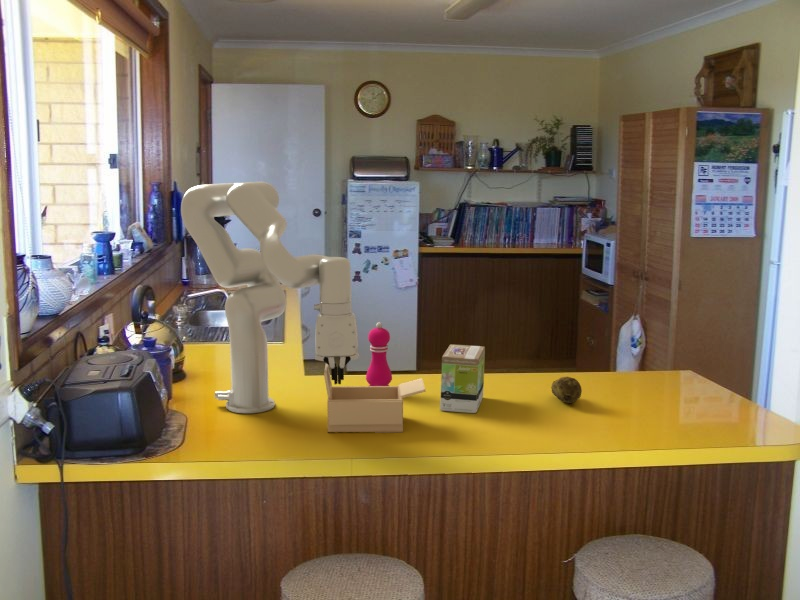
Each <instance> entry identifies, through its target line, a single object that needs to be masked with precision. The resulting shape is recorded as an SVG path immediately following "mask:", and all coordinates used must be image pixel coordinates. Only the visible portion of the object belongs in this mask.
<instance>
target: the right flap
mask: <svg viewBox="0 0 800 600" xmlns="http://www.w3.org/2000/svg"><path fill="white" fill-rule="evenodd" d="M398 386H399V387H400V393H401V398H403V399H405V398H406V397H407V398H408V397H410V396H411V397H412V396H414V395H419V394H422V393H426V388H425V383H424V379H423V377H420V378H418V379H414V380H410V381H406V382H402V383H399V384H398Z"/></svg>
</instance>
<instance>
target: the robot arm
mask: <svg viewBox="0 0 800 600" xmlns="http://www.w3.org/2000/svg"><path fill="white" fill-rule="evenodd" d="M180 203H181V204H180V215H181V219H182V222H183V225H184V226H185V229H186V231H187V232H188V233H189V235H190V236H191V238H192V239H193V240H194V242H195V244H196V246H197V247H198V249H199V251H200V253H201V255H202V258H203V259H204V261H205V263H206V266H207V267H208V269H209V271H210V273H211V274H212V276H213V278H214V280H215V282H216V283H217V284H218V286H220V287H221V288H226V289H227V288H228V289H229V288H231V289H232V288H236V287H242V286H243V287H242V288H239V289H236V290H234V291H232V292H231V293H230V294H229V295H228V296H227V298H226V300H225V303H224V312H225V313H224V314H225V316H226V317H225V318H226V322H227V325H228V332H229V333H228V335H229V345H230V346H229V349H230V352H229V353H230V381H231V388H230V390H226V391H223V390H219V391H217V390H216V391H215V392H214V398H215V399H217V400H218V401H226V403H225V408H226V409H227V410H228V411H229V412H233V413H236V414H257V413H258V414H259V413H264V412H267V411H271V410H272V409H273V408H275V405H276V404H275V399H273V398H272V397H269V361H268V359H269V356H268V338H267V334H266V332H265V330H264V328H263V325H262V323H263V322H265V321H269V320H272V319H276V318H278V317H280V316H282V315H283V313H284V312H285V311H286V308H287V297H286V293H285V291H284V289H283V287H282V285H283V286H284V287H285V288H288V289H291V290H299V289H303V288H308V287H313V286H317V285H319V302H318V303H316V304H313V310H314V311H318V312H319V313H318V314H317V315H316V319H315V320H316V321H315V331H314V332H315V334H314V335H315V336H314V337H315V340H314V345H315V347H314V348H315V354H314V355H315V356H314V359H315V361H320V362H324V363H325V364H326V363H327V364H328V366H329V369H330V377H331V381H334V383H333V384H334V385H337V384H338V385H341V384H342V381H344V379H345V375H344V369H345V367H346V365H348V364H349V362H350V361H355V360H358V359H360V354H359V351H358V350H359V341H358V337H359V336H358V326H357V320H356V315H355V313H354V312H353V311H352V277H351V273H352V272H351V270H352V269H351V268H352V267H351V262H350V260H349V259H348V258H347V257H342V256H327V255H322V254H316V253H312V254H307V255H300V256H293V255H292V254H291V253H290V252H289V251H288V250H287V248H286V247H285V246H284V245H283V242H282V241H281V240H280V238H281V237H282V236H283V234H284V233H285V231H286V228H287V226H288V225H287V223H288V222H287V220H286V218H285V217H284V216H283V215H282V213H280V212H279V211H278V209H277V208H278V207H279V203H280V196H279V193H278V191H277V189H276V188H275V187H274V186H273V185H272V184H271V183H269V182H266V181H246V182H227V183H211V184H210V183H209V184H208V183H206V184H200V185H195V186H193V187H190V188H189V189H188V190H187V191H186V192H185V193H184V195H183V197H182V199H181V202H180ZM227 216H235V217H237V218H238V220H239V221H240V222H241V223H242V224H243V225H244V227H246V228H247V229H248V231H249V232H250V233H251V234H252V235H253V236H254V237H255V239H256V240H257V242H259V250H260V251H259V250H258V249H256V248H252V247H251V248H250V247H249V248H248V247H247V248H238V247H237V246H236V245H235V244H234V242H233V240H232V238H231V236H230V234H229V232H228V231H227V230H226V229H225V228H224V227H223V225H221V224H220V223H219V222H218V221H217V220H215V217H218V218H219V217H227ZM244 286H247V287H244ZM335 357H336V358H338V357H339V363H338V365H337V363H336V361H335V360H336V359H335Z"/></svg>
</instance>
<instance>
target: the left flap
mask: <svg viewBox="0 0 800 600" xmlns="http://www.w3.org/2000/svg"><path fill="white" fill-rule="evenodd" d="M324 365H325V366H324V371H323V376H324V381H325V389H326V394H327V399H328V398H329V397H331V389H332V387H333V384H332V380H331V371H330V366H329V365H328V364H327V363H325V364H324Z"/></svg>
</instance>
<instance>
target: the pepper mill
mask: <svg viewBox="0 0 800 600" xmlns="http://www.w3.org/2000/svg"><path fill="white" fill-rule="evenodd" d="M367 340H368V342H369V343H370V344H369V345H370V346H369V348H370V349H369V350H370V352H371V360H370V364H369V366H368V369H367V372H366V374H365V375H366V376H365V380H366V382H367V383H368V386H390V385H389V384H390V383H391V382H392V381H393V375H392V371H391V369H390V366H389V364H388V359H387V351H389V345H388V344H389V342H390V340H391V334H390V331H388V330H387V329H386V328H384V327H383V323H382V322H380V321H378V322H377V323H376V324H375V328H372V329H371V330H370V331H369V333H368V336H367Z"/></svg>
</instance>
